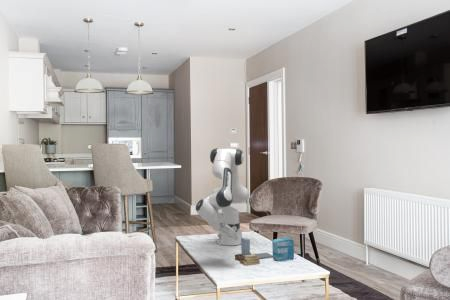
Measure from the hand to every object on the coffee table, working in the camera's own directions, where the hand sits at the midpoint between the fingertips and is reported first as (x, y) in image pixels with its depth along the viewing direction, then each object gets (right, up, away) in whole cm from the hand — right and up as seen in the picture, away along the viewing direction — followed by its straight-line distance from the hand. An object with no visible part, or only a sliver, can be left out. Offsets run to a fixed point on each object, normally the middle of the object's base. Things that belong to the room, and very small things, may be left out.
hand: (234, 237), depth 264 cm
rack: (+7, -14, +3) cm, 16 cm away
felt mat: (+17, -13, +12) cm, 25 cm away
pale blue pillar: (+7, -14, +3) cm, 16 cm away
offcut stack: (+9, -14, -5) cm, 17 cm away
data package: (+29, -14, +3) cm, 32 cm away
